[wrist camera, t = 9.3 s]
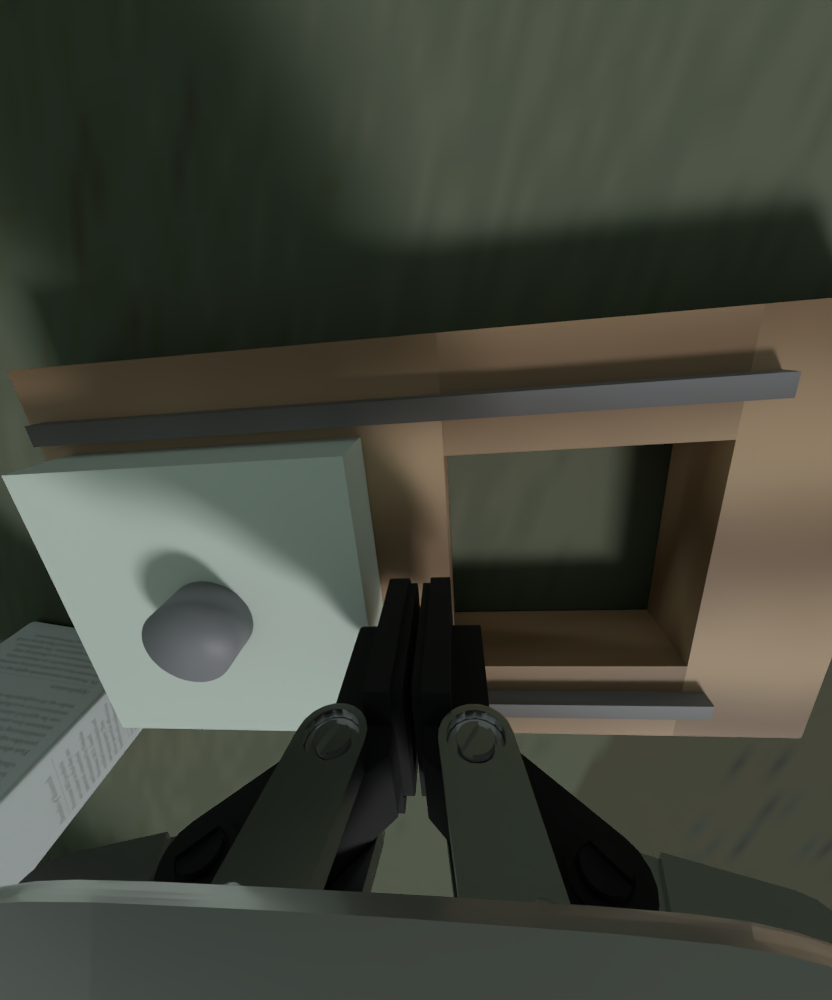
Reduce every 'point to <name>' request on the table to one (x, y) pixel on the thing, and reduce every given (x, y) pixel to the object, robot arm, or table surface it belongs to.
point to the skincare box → (49, 741)
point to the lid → (211, 575)
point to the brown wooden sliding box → (553, 426)
